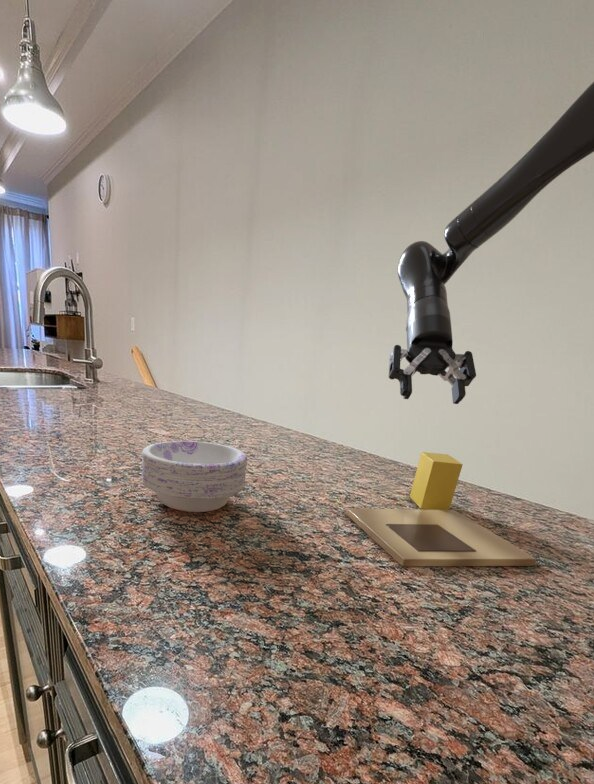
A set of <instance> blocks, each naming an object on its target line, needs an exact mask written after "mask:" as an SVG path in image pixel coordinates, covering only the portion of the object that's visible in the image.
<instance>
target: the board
mask: <svg viewBox="0 0 594 784" xmlns="http://www.w3.org/2000/svg"><path fill="white" fill-rule="evenodd" d="M345 514H346V516H347V517H348V518H350V520H351V521H353V522H354V523H355V524H356V525H357V526H358V527H359V528H360V529H361V530H362V531H364V533H365V534H367V535H368V536H369V538H371V539H372V540H373V541H374V542H375V543H376V544H377V545H378V546H379V547H381V548H382V549H383V550H384V551H385V552H386V553H387V554H388V555H389V556H391V558H393V559H394V560H395V561H396V562H397V563H398V564H399V565H400V566H401V567H534V566H535V565H536V563H537V560H538V559H537V558H536V557H534V556H532V555H531V554H529V552H528V553H527V552H526V551H525V550H523V549H521V548H520V547H518V546H516V545H514V544H512V543H511V542H509V541H507V540H506V539H505V538H503V537H501V536H499V535H497V534H496V533H494V532H492V531H491V530H489V529H488V528H485V527H484V526H482V525H481V524H478V523H477V522H475V521H474V520H472V519H470V518H469V517H467V516H465V515H464V514H462V513H460V512H458V511H457V510H455V509H449V510H427V509H420V508H419V509H416V508H415V509H413V508H409V509H408V508H355V507H354V508H353V507H352V508H351V507H347V508H346V513H345Z"/></svg>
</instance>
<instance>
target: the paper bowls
mask: <svg viewBox="0 0 594 784" xmlns="http://www.w3.org/2000/svg"><path fill="white" fill-rule="evenodd" d="M141 456H142V458H141V460H142V461H141V481H142V485H143V486H144V487H145V488H147V489H148V490H150V491H152V492H154V493H155V496H156V498H157V499H158V500H159V503H161V504H163V505H164V506H166V507H168V508H170V509H173V510H175V511H176V510H177V511H181V512H186V513H207V512H212V511H216V510H218V509H221V508H223V507H224V506H225V505H226V504H227V503H228V502H229V500H230V498H231V497H232V496H236V495H238V494H240V493H241V492H242V491H244V489H245V485H246V483H245V482H246V476H247V472H246V471H247V465H248V456H247V455H246V453H244V451H242V450H240V449H238V448H235V447H233V446H229V445H225V444H221V443H214V442H207V441H195V440H194V441H193V440H174V441H162V442H156V443H152V444H149V445H147V446H145V447H144V448H143V450H142V453H141Z"/></svg>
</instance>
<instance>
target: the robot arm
mask: <svg viewBox="0 0 594 784" xmlns="http://www.w3.org/2000/svg"><path fill="white" fill-rule="evenodd" d="M593 153H594V81H593V82H592V83H590V85H589V86H587V88H586V89H585V90H584V91H583V92H582V93H581V94H580V95H579V97H577V98H576V100H575V101H574V102H573V103H572V104H571V105H570V106H569V107H568V108H567V110H565V111H564V113H563V114H562V115H561V116H560V117H559V118H558V120H557V121H556V122H555V123H554V124H553V125H552V126H551V127H550V128H549V129H548V130H547V131H546V133H545V134H543V136H541V138H540V139H539V140H538V141H537V142H536V143H535V144H534V145H533V146H532V147H531V148H530V149H529V150H528V151H527V152H526V153H525V154H524V155H523V156H522V157H521V158H520V159H519V160H518V161H517V162H515V164H513V166H512V167H511V168H510V169H508V170H507V171H506V172H505V173H504V174H503V175H502V176H501V177H500V178H498V179H497V180H496V181H495V182H494V183H493V184H492V185H491V186H489V187H488V188H487V189H486V190H485V191H484V192H483V193H482V194H480V195H479V197H477V198H476V199H475V200H474V201H473V202H471V203H470V204H468V206H467V207H465V208H464V209H463V210H462V211H461V212H459V214H458V215H456V216H455V217H454V218H453V219H451V220H450V222H449V223H448V224H447V225H446V227H445V229H444V230H443V231H444V232H443V236H444V241H445V243H446V245H447V246H448V249H447V250H446V251H445V252H444V253H442V252H441V251H439V250H438V249H437V248H436V247H435V246H434V245H432V244H431V243H429V242H428V241H425V240H418V241H415V242H412V243H410V244H409V245H408V246H407V247H406V248H405V249H404V250H403V252H402V253H401V255H400V258H399V260H398V264H397V276H398V280H399V283H400V286H401V289H402V292H403V294H404V296H405V298H406V313H407V316H406V326H405V332H406V346H407V348H406V349H404V348H402V346H401V345H400V344H396V345H394V347H393V349H392V351H391V353H390V355H389V362H388V363H389V364H388V379H390V380H395V379H396V380H398V382H399V394H400V396H401V397H403V400H409V398H410V397H411V395H412V394H413V379H412V377H413V376H414V375H415V374H416V373H417V372H418V373H419V375H431V376H439V377H440V378H441V380H443V381H444V382H446V381H447V382H448V383H449V384H450V385H451V386H452V387H451V396H452V397H451V398H452V404H453V405H459V403H460V402H462V401H463V399H464V398H465V396H466V395H467V394H466V393H467V392H466V387H469V386H470V385H471V384H472V382H473V380H474V379H475V378H476V377H477V371H476V367H475V362H474V356H473V353H472V352H471V350H467V351H465V352H464V353H456V352H455V351H454V348H453V332H452V331H453V330H452V319H451V312H450V309H449V304H448V293H447V287H446V284H447V283H448V282H449V280H451V278H452V277H453V276H454V275H455V273H456V272H457V271H458V270H459V269H460V267H461V266H462V265H463V264H464V263H465V261H466V260H467V259H468V258H469V257H470V256H471V255H472V254H473V252H475V251H476V250H477V249H479V248H480V247H481V246H482V245H484V244H485V243H487V241H489V240H491V238H493V237H494V236H495V235H496V234H498V233H499V232H500V231H501V230H503V229H504V228H505V227H506V226H507V225H508V224H510V222H512V221H513V220H514V219H515V218H516V217H517V216H518V215H519V214H520V213H521V212H522V211H523V210H524V209H525V208H526V207H527V206H528V205H529V204H530V202H532V200H533V199H534V198H535V197H536V196H537V195H538V194H540V192H542V190H544V189H545V188H546V187H547V186H549V184H550V183H552V182H553V181H554V180H555V179H556V178H558V177H559V176H561V174H563V173H564V172H566V171H567V170H569V169H570V168H571V167H573V166H574V165H576V164H577V163H579V162H580V161H582V160H583V159H584V158H587V157H588V156H590V155H591V154H593ZM404 358H405V360H406V361H407V362H408V363H409V365H407V366H406V367H405V369H403V368H401V362H402V360H403V359H404ZM447 369H448V370H447ZM446 370H447V371H446Z"/></svg>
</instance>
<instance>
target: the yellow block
mask: <svg viewBox="0 0 594 784" xmlns="http://www.w3.org/2000/svg"><path fill="white" fill-rule="evenodd" d="M463 465H464V464H463V463H462V462H460V461H458V460H457V459H456V458H454V457H453V456H451V455H449V454H448V453H447V454H446V453H437V452H436V453H435V452H425V451H421V452H420V456H419V460H418V464H417V467H416V471H415V475H414V479H413V482H412V486H411V489H410V490H411V492H410V495H409V497H410V499H411V500H412V501H413V502H414V503H415V504H416V506H418V507H419V509H420V510H451V505H452V501H453V498H454V496H455V491H456V488H457V485H458V483H459V478H460V475H461V471H462V468H463Z"/></svg>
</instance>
